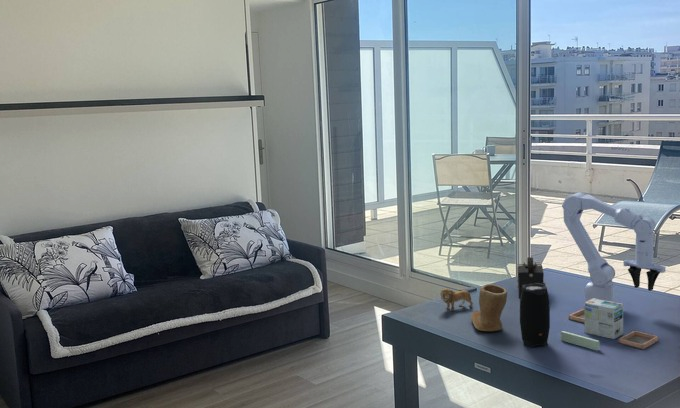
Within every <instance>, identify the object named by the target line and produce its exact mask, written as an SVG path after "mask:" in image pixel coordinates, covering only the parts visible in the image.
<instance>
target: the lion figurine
mask: <svg viewBox="0 0 680 408" xmlns="http://www.w3.org/2000/svg"><path fill="white" fill-rule="evenodd" d="M440 298H441V300H442V301H443V302H444V303H446V306H447V307H445V309H446V310H449V309H450V311H451V312H453V311H454V310H455V303H456V302H460V301H461V303H460V304H459V307H463V306H465V303H466V302H467V303H469V304H470V305H468V307H469V308H473V304H474V303H473V301H472V296H471V294H470V292H469V291H467V290H465V289H462V290H459V291H456V292H455V291H453V290H452V289H449V288H447V287H446V288H443V289H442V290H441V291H440ZM450 307H451V308H450Z"/></svg>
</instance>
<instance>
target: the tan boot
mask: <svg viewBox="0 0 680 408" xmlns="http://www.w3.org/2000/svg"><path fill="white" fill-rule="evenodd" d="M478 294H479V296H478V305H479V310H476V311H474V312H472V313H471V314H470V317H471V321H472V325H473V326H474V328H475V329H476V330H478V331H481V332H498V331H501V330H502V328H503V323H502V320H501V316H502V313H503V311H504V308H505V306H506V304H507V300H508V299H507V298H508V291H507V290H506V289H505V288H504V287H502V286H499V285H497V284H491V283H490V284H489V283H488V284H487V283H486V284H484V285H482V286H481V287H480V289H479V293H478Z"/></svg>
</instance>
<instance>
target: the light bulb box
mask: <svg viewBox="0 0 680 408" xmlns="http://www.w3.org/2000/svg"><path fill="white" fill-rule="evenodd" d="M584 305H585V307H584V309H585V323H584V334H590V335H594V336H599V337H602V338H608V339H611V340H615V339H617V338H618V337H619V338H620V336H622V335H623V334H624V303H622V302H616V301H615V302H614V301H613V302H611V301H605V300H600V299H595V298H593V299H591V300H589V301H587V302H585V301H584Z"/></svg>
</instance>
